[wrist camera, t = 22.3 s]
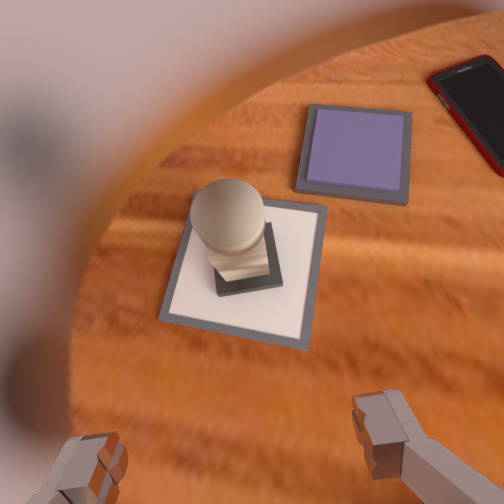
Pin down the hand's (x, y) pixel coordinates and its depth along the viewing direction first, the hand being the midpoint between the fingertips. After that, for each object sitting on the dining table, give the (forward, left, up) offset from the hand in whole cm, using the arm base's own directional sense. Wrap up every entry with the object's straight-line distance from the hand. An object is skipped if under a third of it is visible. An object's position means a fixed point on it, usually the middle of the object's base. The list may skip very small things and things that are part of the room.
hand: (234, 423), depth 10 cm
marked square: (+4, -10, -16) cm, 19 cm away
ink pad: (-5, -24, -16) cm, 30 cm away
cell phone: (-19, -31, -17) cm, 40 cm away
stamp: (+3, -10, -16) cm, 19 cm away
